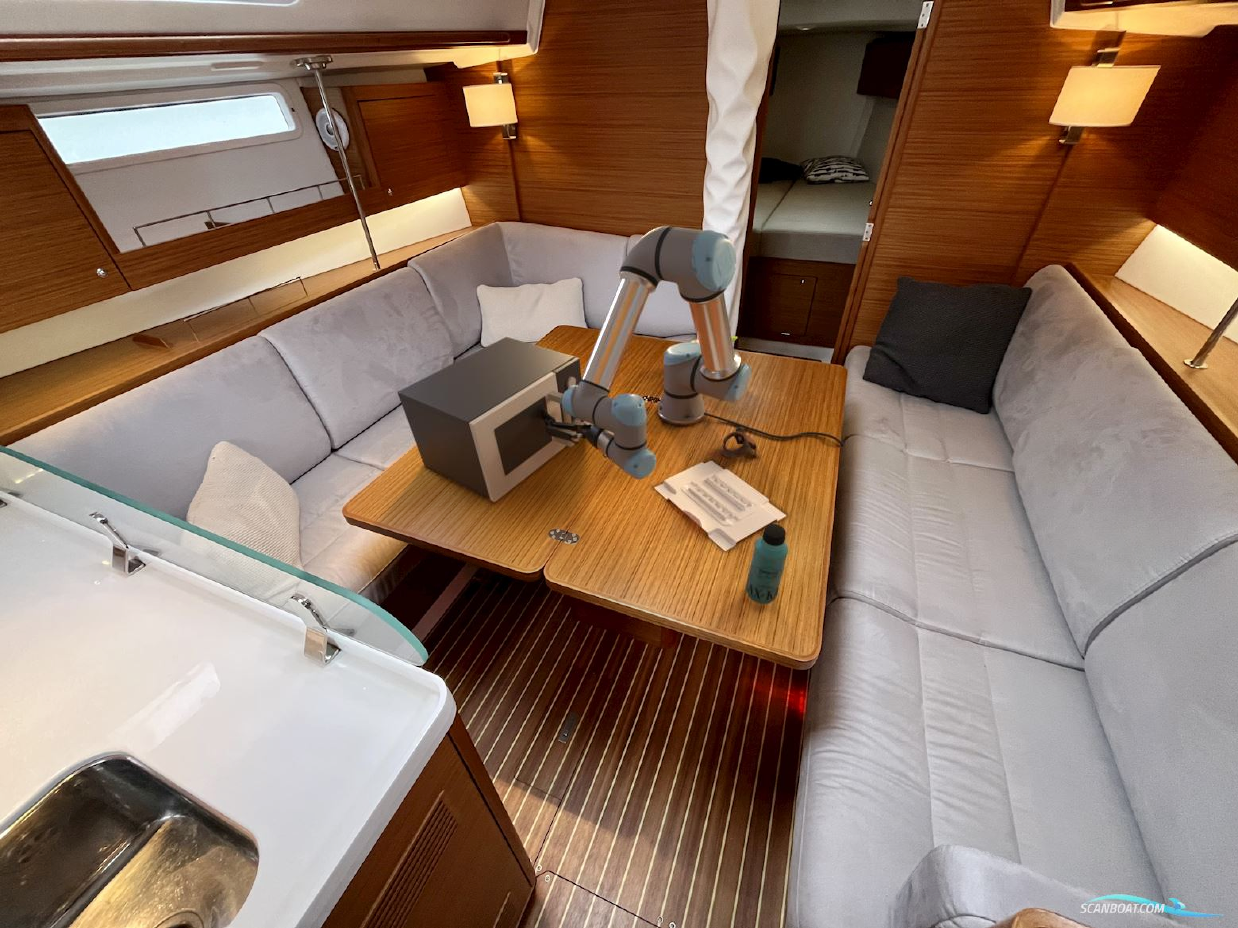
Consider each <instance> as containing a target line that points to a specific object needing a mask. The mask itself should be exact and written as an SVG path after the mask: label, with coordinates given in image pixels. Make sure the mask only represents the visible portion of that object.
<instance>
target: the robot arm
mask: <svg viewBox="0 0 1238 928" xmlns="http://www.w3.org/2000/svg"><path fill="white" fill-rule="evenodd" d="M736 264H737V253H736V247H735V245H734V242H733V241H732V239H731V238H730V237H729V236H728V235H726V234H725V233H722V232H717V231H714V230H712V229H704V230H702V229H696V228H687V227H678V226H674V225H662V226H658V227H655V228H653V229H651V230H650V231H648V232H646V233H645V234H644V235H643V236H642V237H641V238H639V239H638V240H637V241H636V243H635V244H634V245H633V246H632V248H631V249H630V250H629V252H628V253H627V255H626V257H625V258H624V260H623V262H622V264H621V266H620V269H619V271H618V273H617V277H618V279H619V283H618V285H617V288H616V290H615V293H614V295H613V298H612V301H611V303H610V306H609V308H608V310H607V313H606V315H605V318H604V321H603V324H602V326H601V329H600V331H599V333H598V336H597V339H596V341H595V343H594V346H593V349H592V351H591V354H590V355H589V359H588V361H587V363H586V366H585V369H584V371H583V374H582V375H581V378H582V379H581V381H580V383H579V385H572V386H570V387H569V388H568V390H567V391H565V393H564V395H563V399H562V406H563V409H564V411H565V412H566V413H567V414H569V415H571V416H573V417H575V418H577V419H578V420H583V421H584V422H576V423H564V422H556V420H555V419H554V418H553V417H552V416H550V415H549V414H548V413H547V412H546V411H544V410H541V414H542V419H543V420H544V421H545V425H546V426H545V427H546V433H547V435H549V436H552V437H556V438H560V439H564V440H568V441H571V442H573V443H574V445H578V444H579V440H582V439H583V440H584V439H585V440H587V442H589V444H590V445H591V446H592V447H593V448H595V449H596V450H597V451H599V452H600V453H601V454H602V455H603V456H605V457H606V458H607V459H609V460H610V461H611V462H613V463H614V464H615V465H616V466H617V467H618V468H619V469H621V470H622V471H623V472H624V473H625V474H627V475H629V476H630V477H631V478H633V479H635V480H643V479H645V478H647V477H649V476H650V475H651V474H652V473H653V472H654V470H655V468H656V466H657V457H656V455H655V453H653V452H652V450H651V449H650V448H649V449H648V438H647V419H648V415H647V410H646V402H645V400H644V398H643V397H642V396H640V395H639V394H637V393H628V392H627V393H621V394H618V395H616V396H615V397H611V396H609V395H610V393H611V390H612V387H613V386H614V382H615V380H616V378H617V375H618V373H619V371H620V368H621V365H622V363H623V360H624V358H625V355H626V354H627V353H626V352H627V351H628V348H629V345H630V343H631V340H632V338H633V335H634V333H635V331H636V328H637V326H638V323H639V321H640V318H641V316H642V313H643V310H644V308H645V306H646V304H647V301H648V300H649V296H650V295H651V294H653V293H655V292H656V291H657V288H658V285H659V283H661V282H662V281H663V282H668V283H674V284H676V285H677V290H678V293H679V295H680V298H681V299H682V300H683V301H685V302H687V303H688V306H689V309H690V313H691V318H692V322H693V326H694V329H695V333H696V337H697V338H696V339H698V342H699V344H698V343H693V342H692V341H689V342H686V341H685V342H680V343H676V344H673V345H671V346H669V347H667V349H666V350H665V352H664V355H663V392H662V395H661V398H660V401H657V415H658V418H659V419H660V420H661V421H663V422H664V423H666V424H669V425H672V426H679V427H680V426H681V427H682V426H692V425H695V424H697V423H699V422H701V421H702V420H703V419H704V418H705V416H707V417H710V418H714V419H715V420H716V419H717V420H720V421H722V422H726V423H729V424H732V425H735V426H737V427H740V426H741V427H743V428H744V429H746V430H748V431H752V432H755V433H758V434H761V435H763V436H766V437H770V438H773V439H782V440H784V439H785V440H787V439H788V440H789V439H794V438H798V437H802V436H805V435H806V436H807V435H814V436H822V437H827V438H831V439H833V440H834V441H836V442H837V443H838V444H839V445H840V446H841V447H843V448H845V447H846V445H845V443H844V442H842V440H840V439H839V438H838V437H836V436H835V435H832V434H828V433H824V432H817V431H804V432H800V433H796V434H792V435H785V436H784V435H776V434H771V433H768V432H765V431H763V430H760V429H756V428H754V427H750V426H746V425H744V424H741V423H739V422H735V421H733V420H730V419H727V418H724V417H721V416H717V415H714V414H711V413H707V412H706V406H705V403H704V400H703V395H705V396H706V397H707V396H708V397H710V398H713V399H715V400H719V401H722V402H726V403H730V404H734V403H737V402H739V401H740V399H741V398H742V397H743V395H744V394H745V392H746V389H747V388H748V385H749V383H750V380H751V376H752V367H751V365H749V364H747V363H742V358H741V354H740V353H739V352H738V351H737V350H736V349H735V348H734V344H733V342H732V338H731V337H732V333H731V328H730V321H729V315H728V310H727V309H728V308H727V303H726V297H725V292H726V290H727V289H728V287H729V286H730V284H731V283H732V281H733V278H734V277H735V273H736ZM579 426H580V427H581V431H580V430H579Z"/></svg>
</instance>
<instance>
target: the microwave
mask: <svg viewBox="0 0 1238 928" xmlns="http://www.w3.org/2000/svg"><path fill="white" fill-rule="evenodd" d="M581 369H582V368H581V361H580V358H579V357H576V356H574V355H571V354H567V353H564V352H561V351H557V350H553V349H551V348H547V347H543V346H540V345H537V344H533V343H529V342H525V341H522V340H519V339H515V338H512V337H508V336H505V337H503V338H501V339H499V340H496V341H495V342H493V343H491V344H490V345H489V344H488V345H487V346H486V347H484V348H483V347H482V349H480V350H477V351H475V352H474V353H471V354H470V355H467V356H465V357H463V358H461V359H459V360H457V361H456V362H454V363H451V364H449V365H448V366H446V367H444V368H441V369H440V370H438V371H436V372H433V373H432V374H430V375H428V376H426V377H424V378H421V379H420V380H418V381H416V382H414V383H412V384H410V385H408V386H406V387H404V388H403V389H402V388H401V389H400V390H398V391H396V392H397V395H398V398H399V401H400V404H401V406H402V409H403V412H404V415H405V418H406V420H407V423H408V425H409V428H410V431H411V433H412V437H413V438H414V441H415V445H416V447H417V450H418V452H419V455H420V457H421V461H422V463H423V465H424V467H425V468H427V469H429V470H431V471H433V472H435V473H437V474H439V475H440V476H443V477H444V478H447V479H449V480H450V481H453V482H454V483H456V484H458V485H460V486H462V487H464V488H466V489H468V491H469V490H470V491H471V492H473V493H476V494H477V495H479V496H481V497H483V498H485V499H487V500H489V501H491V500H490V497H489V493H488V490H487V486H486V483H485V479H484V475H483V472H482V468H481V465H480V461H479V457H478V454H477V450H476V447H475V443H474V440H473V436H472V432H471V429H470V425H469V423H470V422H471V421H473V420H475V419H476V418H478V417H479V416H481V415H483V414H484V413H486V412H487V411H489V410H491V409H492V408H494V407H495V406H497V405H499V404H500V403H502V402H503V401H505V400H507V399H508V398H510V397H511V396H513V395H515V394H516V393H518V392H520V391H521V390H523V389H524V388H526V387H528V386H529V385H531V384H532V383H534V382H536V381H537V380H539V379H540V378H542V377H544V376H545V375H547V374H548V373H550V372H553V373H555V374H556V381H557V388H558V392H559V393H562V394H564V393H565V391H567V390H568V388H569V387H570V386H572V385H579V383H580V381H581V379H582V370H581ZM560 409H561V417H562V422H564V418H563V411H562V404H560ZM570 416H571V415H570ZM576 422H584V421H583V420H578V419H577V418H575V417H573V416H571V423H576ZM579 430H580V431H581V427H580V426H579Z"/></svg>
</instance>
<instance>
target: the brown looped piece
mask: <svg viewBox="0 0 1238 928" xmlns="http://www.w3.org/2000/svg"><path fill="white" fill-rule="evenodd" d="M733 437H734V439H735V442H736V444H737V445H741V446H739V447H738V448H736V449H729V448H728V447H726V444H727V442H728V441H729V440H730V439H731V438H733ZM722 443H723V444H722V446H721V447H722V449H721V451H722V455H723V456H724V457H726V458H729V459H736V458H740V459H744V458H745V457H744V452H752V451H754V455H755V456H754V457H755V458H758V447H757V444H756V442H755V440H754V439H753V438H752V436H751V435H749V434H746V432H745V428H743V427H741V426H737V427H736V428H735V431H732V432H730V433H728V434H727V435H726V436H725V437H724V438H723V440H722Z"/></svg>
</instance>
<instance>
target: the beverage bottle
mask: <svg viewBox="0 0 1238 928" xmlns="http://www.w3.org/2000/svg"><path fill="white" fill-rule="evenodd" d="M786 535H787V531H786V529H785V528H784V526H782V525H780V524H778V523H769V524H767V525H765V526H764V528H763V532H762V535H761V536H759V537H757V539H756V540H755V542H754V547H753V552H752V557H751V561H750V562H749V563H750V564H749V565H750V566H749V568H748V572H747V579H746V585H745V590H746V595H747V596H748V598H749V599H750V600H751V601H752V602H753V603H757V604H759V605H769V604H772V603H773V602H774V601H775V600H776V599H777V597H778V594H779V590H780V586H781V582H782V578H783V574H784V570H785V565H786V560H787V556H788V553H789V545H788V544H787V542H786Z"/></svg>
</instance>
